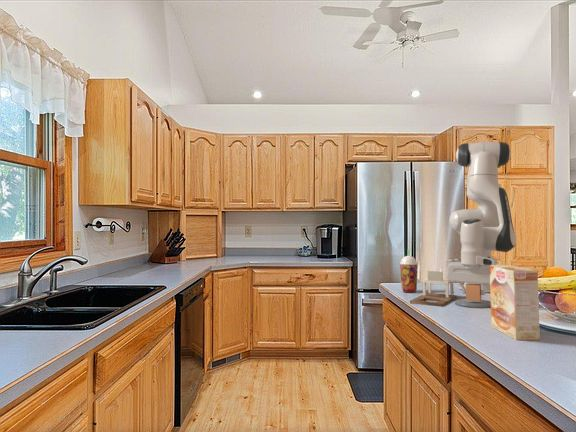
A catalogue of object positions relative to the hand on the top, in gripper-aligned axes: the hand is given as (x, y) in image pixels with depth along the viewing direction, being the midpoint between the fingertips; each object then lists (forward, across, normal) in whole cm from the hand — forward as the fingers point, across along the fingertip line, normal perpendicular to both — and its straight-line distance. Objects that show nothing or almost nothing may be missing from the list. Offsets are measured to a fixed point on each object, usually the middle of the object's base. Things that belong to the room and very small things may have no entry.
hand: (473, 294), depth 164 cm
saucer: (+4, 0, 0) cm, 4 cm away
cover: (+3, -16, +7) cm, 18 cm away
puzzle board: (+4, -16, +1) cm, 17 cm away
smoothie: (+4, -32, +16) cm, 36 cm away
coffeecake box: (+4, +19, -38) cm, 43 cm away
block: (+2, 0, 0) cm, 2 cm away
